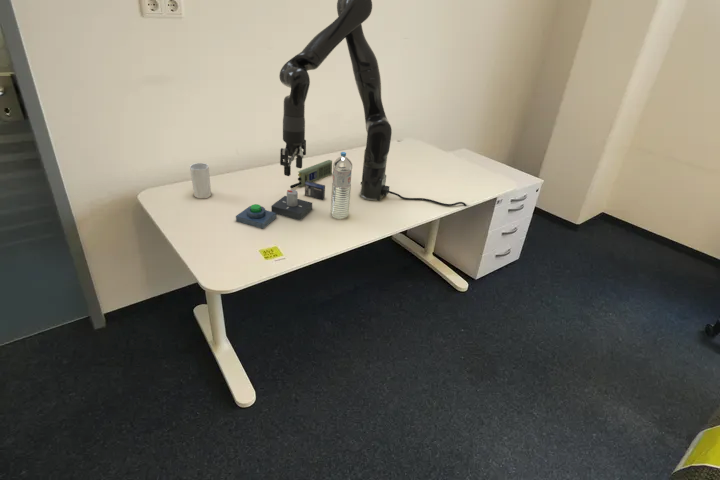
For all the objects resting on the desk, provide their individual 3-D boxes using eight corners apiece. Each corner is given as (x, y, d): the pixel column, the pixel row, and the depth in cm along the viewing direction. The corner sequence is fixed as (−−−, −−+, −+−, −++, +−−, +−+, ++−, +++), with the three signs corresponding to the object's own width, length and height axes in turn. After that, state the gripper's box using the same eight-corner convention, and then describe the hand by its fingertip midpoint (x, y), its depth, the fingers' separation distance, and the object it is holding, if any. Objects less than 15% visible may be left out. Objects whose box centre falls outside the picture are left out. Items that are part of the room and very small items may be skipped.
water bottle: (341, 221, 158) (346, 157, 145) (326, 215, 161) (329, 152, 148) (351, 214, 163) (356, 152, 150) (337, 209, 166) (340, 147, 153)
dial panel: (312, 209, 164) (312, 202, 163) (300, 220, 156) (300, 213, 155) (284, 202, 167) (284, 195, 166) (271, 212, 159) (271, 205, 158)
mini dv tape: (304, 195, 174) (305, 182, 171) (306, 194, 175) (306, 180, 172) (322, 200, 172) (323, 186, 168) (324, 198, 173) (325, 185, 170)
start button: (263, 209, 153) (262, 205, 152) (257, 214, 150) (257, 209, 150) (254, 207, 154) (254, 203, 153) (248, 211, 151) (248, 207, 150)
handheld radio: (333, 175, 194) (294, 191, 176) (327, 173, 196) (288, 189, 178) (333, 161, 191) (293, 176, 173) (327, 159, 192) (287, 174, 175)
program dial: (299, 203, 161) (299, 190, 159) (294, 207, 158) (294, 194, 155) (290, 200, 162) (290, 188, 160) (284, 205, 159) (284, 192, 156)
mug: (215, 195, 167) (212, 167, 161) (199, 200, 163) (195, 171, 157) (202, 186, 173) (198, 159, 167) (186, 191, 169) (182, 162, 162)
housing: (276, 218, 156) (276, 208, 154) (262, 229, 149) (262, 219, 147) (250, 210, 159) (249, 201, 157) (236, 221, 152) (235, 211, 150)
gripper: (293, 135, 139) (292, 180, 148) (313, 124, 151) (311, 167, 159) (273, 130, 141) (273, 175, 150) (294, 120, 153) (293, 163, 161)
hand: (293, 171), depth 154 cm, fingers open, 8 cm apart
